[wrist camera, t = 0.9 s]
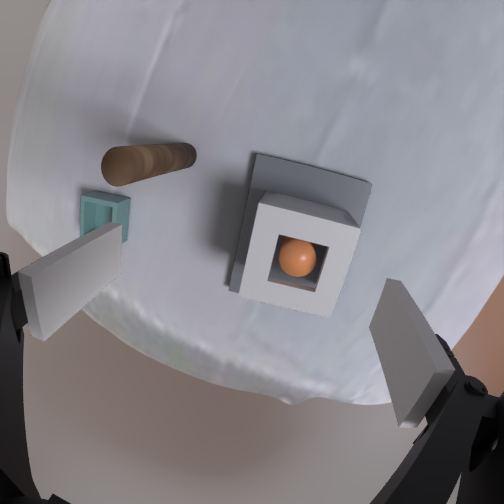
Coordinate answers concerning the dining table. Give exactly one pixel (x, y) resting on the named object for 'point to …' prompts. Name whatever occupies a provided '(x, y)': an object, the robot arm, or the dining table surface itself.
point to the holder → (103, 211)
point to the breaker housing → (298, 233)
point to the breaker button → (297, 256)
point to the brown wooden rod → (145, 161)
